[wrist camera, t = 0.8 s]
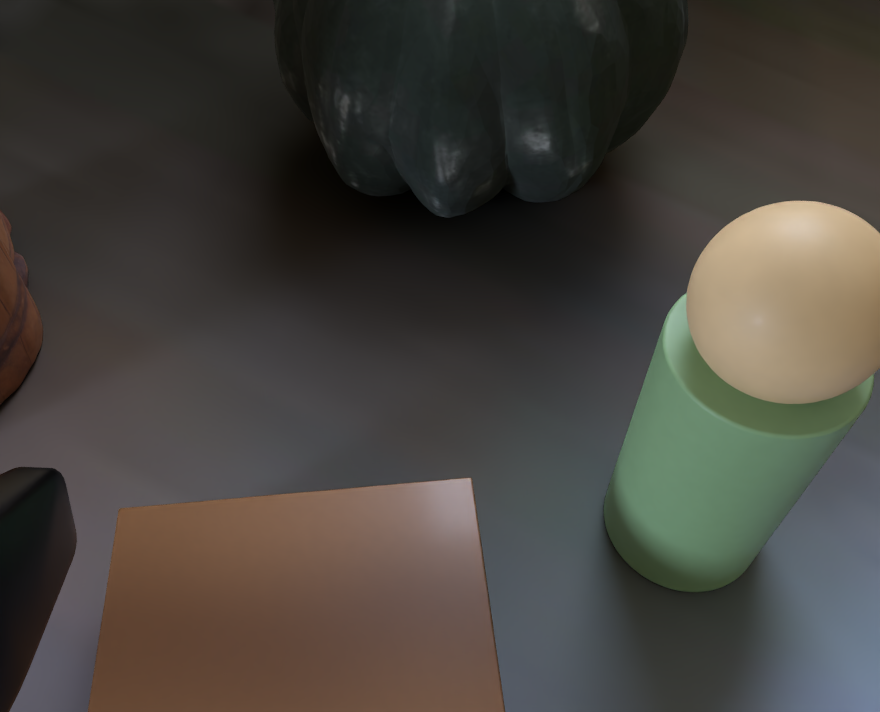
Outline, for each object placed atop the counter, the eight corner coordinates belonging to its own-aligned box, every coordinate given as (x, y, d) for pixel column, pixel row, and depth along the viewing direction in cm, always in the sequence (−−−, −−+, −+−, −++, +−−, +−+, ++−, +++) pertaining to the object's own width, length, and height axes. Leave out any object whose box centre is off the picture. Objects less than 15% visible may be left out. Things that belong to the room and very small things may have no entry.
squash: (614, -107, 36) (396, -436, 25) (822, 90, 28) (640, -261, 17) (396, 120, 42) (134, -67, 30) (518, 340, 34) (225, 199, 22)
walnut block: (518, 899, 18) (530, 886, 16) (103, 950, 18) (51, 944, 15) (468, 527, 24) (471, 476, 21) (151, 557, 23) (117, 507, 21)
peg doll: (784, 576, 23) (1015, 301, 14) (633, 608, 22) (770, 342, 13) (719, 443, 25) (876, 138, 16) (583, 468, 25) (667, 167, 16)
